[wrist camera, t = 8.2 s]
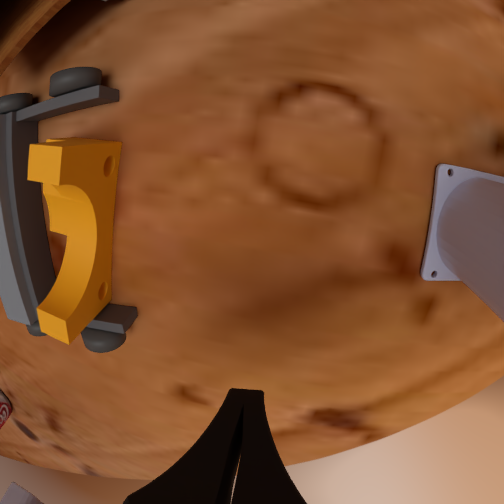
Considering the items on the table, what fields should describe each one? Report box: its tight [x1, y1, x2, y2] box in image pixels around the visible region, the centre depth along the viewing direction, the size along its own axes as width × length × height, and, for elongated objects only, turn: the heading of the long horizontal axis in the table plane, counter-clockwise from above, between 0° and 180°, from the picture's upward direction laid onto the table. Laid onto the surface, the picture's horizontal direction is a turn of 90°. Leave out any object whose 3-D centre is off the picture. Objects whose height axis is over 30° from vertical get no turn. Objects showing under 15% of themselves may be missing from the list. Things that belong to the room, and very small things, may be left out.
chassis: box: [0, 67, 138, 353], centre depth 18 cm, size 13×19×4 cm
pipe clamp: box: [27, 137, 122, 345], centre depth 17 cm, size 12×4×6 cm, turn 168°
